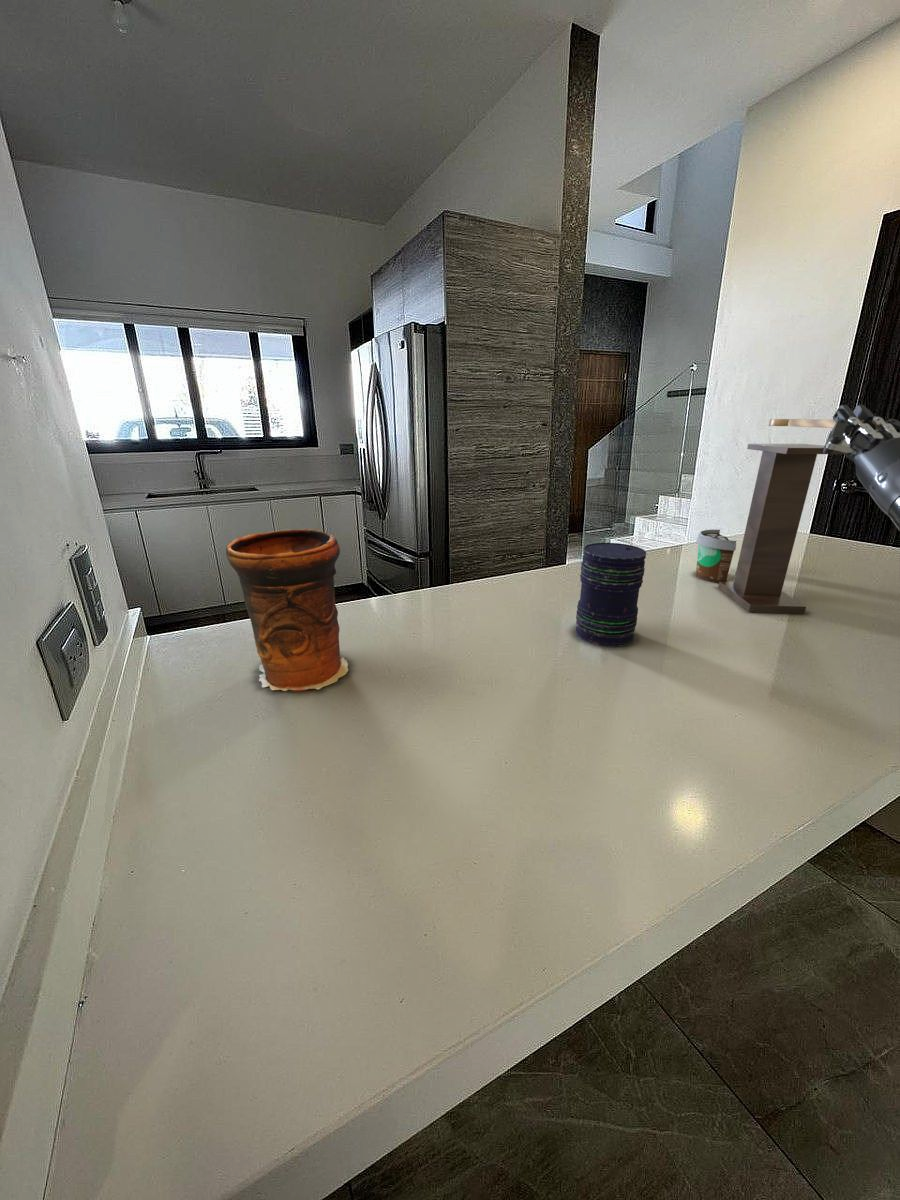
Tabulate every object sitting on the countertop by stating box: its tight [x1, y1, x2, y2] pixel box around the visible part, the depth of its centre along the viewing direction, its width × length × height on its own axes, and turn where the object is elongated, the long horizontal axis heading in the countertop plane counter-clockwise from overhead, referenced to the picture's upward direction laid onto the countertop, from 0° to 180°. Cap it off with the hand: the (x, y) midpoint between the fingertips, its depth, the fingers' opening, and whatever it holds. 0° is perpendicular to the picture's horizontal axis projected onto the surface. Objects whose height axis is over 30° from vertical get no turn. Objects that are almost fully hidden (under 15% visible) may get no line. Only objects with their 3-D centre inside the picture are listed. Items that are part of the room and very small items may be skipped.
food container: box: [695, 529, 737, 584], centre depth 110 cm, size 12×6×10 cm, turn 168°
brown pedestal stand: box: [717, 443, 846, 615], centre depth 92 cm, size 14×10×30 cm
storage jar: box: [574, 542, 647, 648], centre depth 80 cm, size 10×10×15 cm
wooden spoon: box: [768, 418, 864, 429], centre depth 82 cm, size 22×5×1 cm, turn 174°
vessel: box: [225, 528, 349, 692], centre depth 67 cm, size 14×14×20 cm
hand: (848, 410), depth 74 cm, fingers closed on wooden spoon
